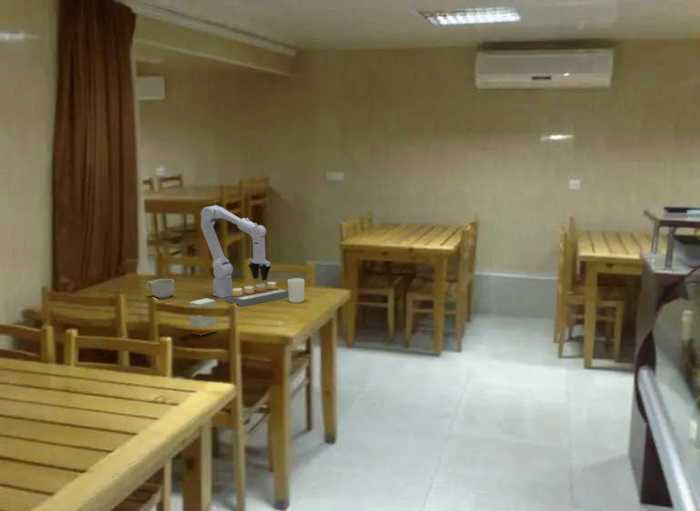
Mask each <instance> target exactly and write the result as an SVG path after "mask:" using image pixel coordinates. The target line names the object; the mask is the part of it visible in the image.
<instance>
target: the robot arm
mask: <svg viewBox="0 0 700 511" xmlns="http://www.w3.org/2000/svg"><path fill="white" fill-rule="evenodd" d="M200 217H201V218H200V227H201V231H202V233H203V235H204V238H205V240H206V243H207V244H206V245H208V249H209V251H210V255H211V258H212V259H213V262H212V267H213V275H214V277H215V278H213V280H212V287H213V290H212V291H213V293H211V295H212V296H214V297H217V298H220V299H224V298H226V295H230V294H233V291H232V289H233V287H232V286H233V285H232V284H233V282H232V274H233V273H234V267H233V265H232V263H230V261H229V259H228V258H227V257H226V256H225V254H224V252H223V249H222V247H221V244H220V240H219V238H218V236H217V234H216V233H217V232H216V231H215V228H214V226H215V223H216V221H218V219H223V220H226V221H229V222H230V223H232V224H234V225H237V228H238V229H239V230H241V231H242V232H244V233H246V234H248V235H250V237H251V238H252V257H253V258H249V259H248V263H249V264H248V267H249V268H250V271H251V273H252V277H253V279H259V273H260V274H261V280H262V281H267V280H268V279H267V278H268V275H269V272H270V269H271V268H272V265H271V261H268V260H267V259H266V240H265V236H266V235H267V229H266V228H265V226H264V225H262V224H258V223H257V222H253V221H251V220H250V219H249V218H248V217H246V218H245V217H243V218H240V217H238V216H237V215H235V214H233V213H231V212H230V211H228V210H227V209H225V208H224V207H222V206H219V205H218V204H214V205H210V206H205V207H203V208H202V210H201V211H200ZM259 271H260V272H259Z"/></svg>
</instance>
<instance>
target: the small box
mask: <svg viewBox="0 0 700 511" xmlns="http://www.w3.org/2000/svg"><path fill="white" fill-rule="evenodd" d="M188 304H189V308H190V307H216V306H217V305H216V300H215V299H211V298H202V299H197V300H193V301H190V302H188ZM216 308H217V307H216ZM189 316H190V315H189ZM189 319H190V320H189V321H190V327H191V326H194V327H199V328H202V327H207V326H217V327H218V324H217V322H218V321H217V317H216V318H209V317H203V316H201V315H198V316H190V318H189Z"/></svg>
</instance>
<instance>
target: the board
mask: <svg viewBox="0 0 700 511" xmlns="http://www.w3.org/2000/svg"><path fill="white" fill-rule="evenodd" d="M286 297H287V298H289V292H288V290H287V289H286V290H285V289H282V288H278V287H276V290H273V291H269V290H267V287H265V292H263V293H257V292H256V289H254V294H252V295H245V292H244V291H242V297H237V298H235V297H233V294H230V295H226V297H225V301H226V303H230V304H232V303H236V304H238V305H237V306H240V307H242V308H243V307H248V306H254V305H258V304H262V302H263V303H268V302H272V301H277V300H281V298H282V299H285V298H286ZM287 298H286V299H287ZM267 301H268V302H267ZM257 303H258V304H257Z"/></svg>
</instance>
